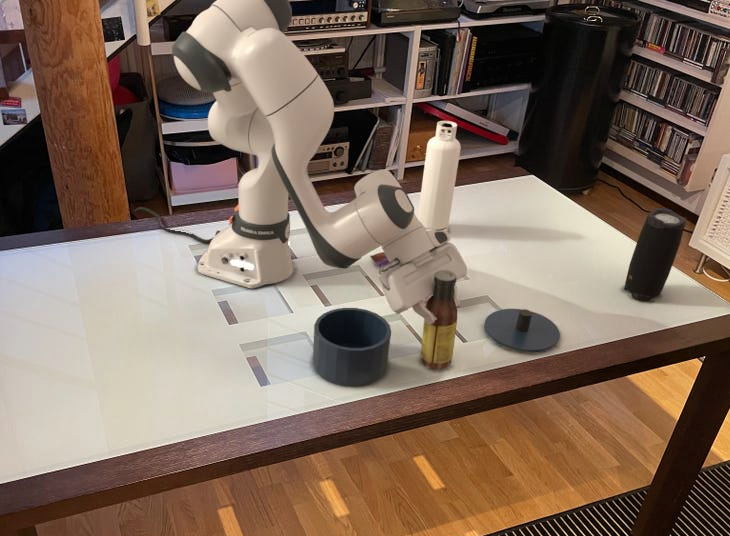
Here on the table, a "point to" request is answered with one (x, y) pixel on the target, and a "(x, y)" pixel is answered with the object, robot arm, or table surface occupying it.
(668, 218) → the portable speaker
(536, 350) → the lid
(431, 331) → the sauce bottle
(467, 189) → the table surface
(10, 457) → the table surface
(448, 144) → the white gas cylinder
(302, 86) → the robot arm
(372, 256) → the snack package
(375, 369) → the round dark pot
